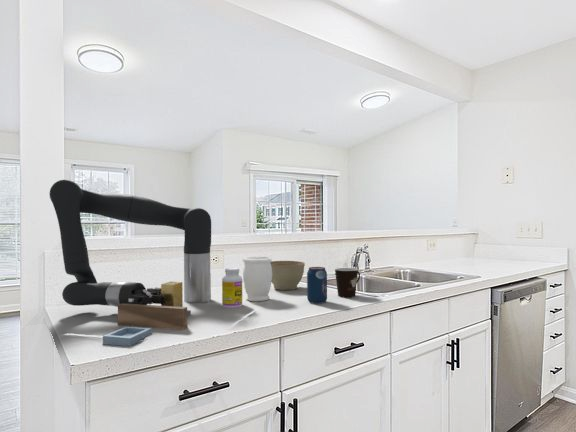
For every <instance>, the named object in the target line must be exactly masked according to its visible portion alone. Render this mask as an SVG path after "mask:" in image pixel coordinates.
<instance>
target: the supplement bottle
mask: <svg viewBox="0 0 576 432" xmlns="http://www.w3.org/2000/svg"><path fill="white" fill-rule="evenodd" d="M224 273H225V275H224V276H223V277H222V279H221V283H222V284H221V291H222V292H221V294H222V295H221V301H222V303H221V304H222V307H223V308H229V309H230V308H231V309H232V308H240V307H242V306H243V276H240V275H239V274H240V268H239V267H226V268H224Z"/></svg>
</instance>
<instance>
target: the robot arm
mask: <svg viewBox="0 0 576 432" xmlns="http://www.w3.org/2000/svg"><path fill="white" fill-rule="evenodd" d="M49 199H50V201H51V203H52V205H53V209H54V211H55V215H56V218H57V221H58V227H59V233H60V242H61V250H62V251H61V252H62V257H63V258H62V260H63V266H64V271H65V273H66V274H67V275H69V276H74V278H75V279H76V281H74V282H73V281H72V282H70V283H68V284H66V286H64V288H63V289H62V290H63V291H62V293H61V296H62V299H63V300H64V302H66V304H68V305H69V306H94V305H97V306H98V305H99V306H111V307H115V308H118V305H120V304H139V305H153V304H155V305H156V304H157V305H161V304H164V303H166V297H165V296H161V287H154V288H153V287H150V288H149V287H148V288H146V287H145V285H144V284H143V283H141V282H132V281H131V282H130V281H128V282H127V281H118V282H110V281H108V282H104V281H103V282H102V281H101V282H98V281H97V279H96V276H95V274H94V272H93V269H92V267H91V266H90V259H89V252H88V247H87V241H86V238H85V235H84V230H83V225H82V219H81V213H82V214H83V213H84V214H91V215H98V216H101V217H105V218H109V219H114V220H117V221H124V222H127V223H133V224H139V225H146V226H148V225H149V226H164V227H169V228H170V227H171V228H174V229H178V230H182V231H184V241H183V300H184V301H183V302H184V303H190V304H191V303H192V304H195V303H196V304H204V303H208V302H210V301H211V299H212V288H211V287H212V284H211V283H212V280H211V279H212V278H211V277H212V276H211V275H212V273H211V247H212V246H211V245H212V218H211V215H210V214H209V212H208V211H207V210H206V209H204V208H200V207H195V208H188V207H187V208H185V207H179V206H172V205H169V204H166V203H163V202H160V201H157V200H155V199H150V198H147V197H144V196H139V195H138V196H137V195H132V194H126V193H125V194H124V193H123V194H122V193H108V194H107V193H99V192H95V191H91V190H87V189H83V188H82V187H80V185H78V184H77V183H76V182H75V181H72V180H70V179H60V180H57V181H56V182H54V183H53V184H52V186H51V187H50V190H49Z"/></svg>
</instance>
